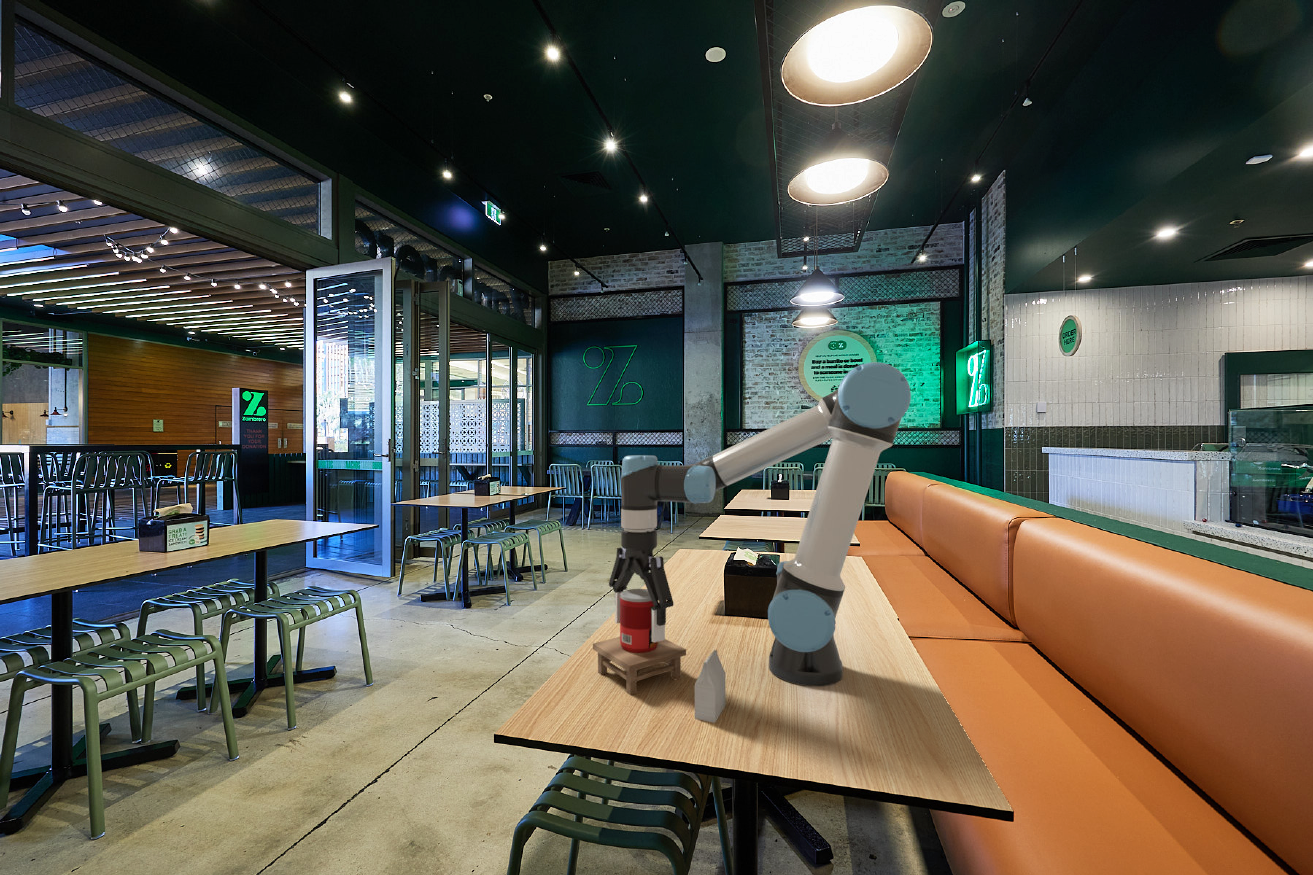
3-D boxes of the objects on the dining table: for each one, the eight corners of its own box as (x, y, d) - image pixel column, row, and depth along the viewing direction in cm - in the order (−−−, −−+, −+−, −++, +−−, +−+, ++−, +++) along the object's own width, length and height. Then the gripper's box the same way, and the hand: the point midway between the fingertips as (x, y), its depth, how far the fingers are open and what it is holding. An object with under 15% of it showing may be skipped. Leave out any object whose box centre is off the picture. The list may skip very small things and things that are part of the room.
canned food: (657, 653, 106) (658, 599, 107) (618, 653, 107) (618, 598, 107) (658, 639, 114) (658, 588, 114) (621, 639, 114) (621, 588, 114)
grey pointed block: (725, 705, 98) (725, 651, 98) (714, 723, 92) (714, 664, 92) (706, 701, 99) (706, 647, 99) (694, 718, 93) (694, 661, 93)
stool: (686, 678, 109) (686, 649, 109) (629, 697, 100) (629, 665, 101) (646, 656, 120) (646, 629, 120) (592, 671, 112) (592, 643, 112)
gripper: (691, 535, 103) (691, 645, 103) (622, 520, 123) (621, 612, 123) (660, 539, 98) (660, 653, 98) (593, 523, 118) (593, 618, 118)
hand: (638, 630), depth 110 cm, fingers open, 13 cm apart
